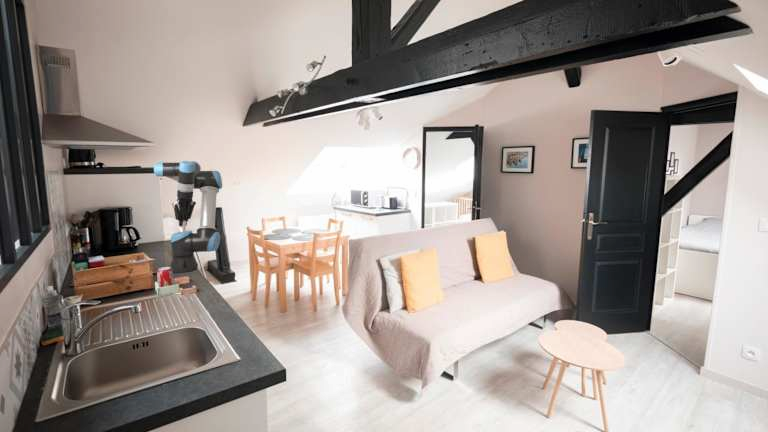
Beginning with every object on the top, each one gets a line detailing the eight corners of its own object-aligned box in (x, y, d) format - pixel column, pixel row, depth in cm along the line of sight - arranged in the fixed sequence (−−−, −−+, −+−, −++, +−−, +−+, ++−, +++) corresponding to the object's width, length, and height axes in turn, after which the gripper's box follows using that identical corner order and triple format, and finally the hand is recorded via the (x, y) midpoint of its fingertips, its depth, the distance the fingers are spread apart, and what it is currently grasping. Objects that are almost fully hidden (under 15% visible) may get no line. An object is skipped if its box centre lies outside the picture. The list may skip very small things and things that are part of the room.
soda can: (170, 292, 194) (168, 270, 192) (155, 293, 194) (153, 270, 192) (176, 288, 201) (174, 266, 199) (162, 288, 201) (160, 266, 199)
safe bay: (175, 285, 205) (175, 278, 204) (179, 292, 195) (179, 284, 195) (155, 289, 199) (154, 282, 199) (158, 296, 190) (157, 288, 189)
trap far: (188, 280, 213) (187, 276, 213) (189, 282, 210) (189, 278, 209) (174, 283, 209) (173, 278, 209) (175, 285, 206) (175, 280, 205)
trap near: (195, 289, 199) (194, 285, 198) (196, 292, 195) (196, 287, 195) (180, 292, 195) (179, 288, 194) (181, 295, 191) (181, 290, 191)
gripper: (179, 193, 197) (175, 235, 203) (200, 191, 208) (197, 231, 214) (169, 189, 199) (166, 231, 205) (191, 187, 211) (188, 227, 217)
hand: (182, 231), depth 210 cm, fingers closed
